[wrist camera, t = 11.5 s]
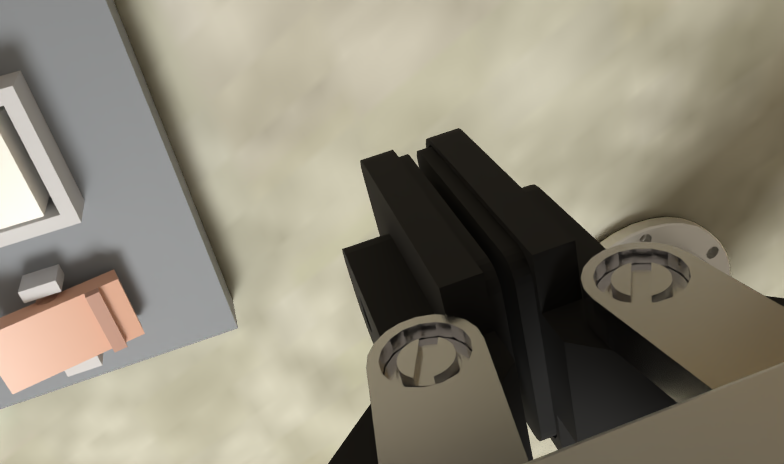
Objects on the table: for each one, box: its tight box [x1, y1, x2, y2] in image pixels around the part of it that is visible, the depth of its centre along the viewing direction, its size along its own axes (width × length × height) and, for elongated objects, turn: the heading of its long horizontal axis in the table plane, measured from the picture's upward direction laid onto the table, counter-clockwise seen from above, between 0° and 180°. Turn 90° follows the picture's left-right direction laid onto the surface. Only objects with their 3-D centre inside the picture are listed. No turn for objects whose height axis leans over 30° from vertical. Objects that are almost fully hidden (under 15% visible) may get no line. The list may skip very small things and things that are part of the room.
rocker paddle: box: [0, 269, 145, 394], centre depth 32 cm, size 3×6×2 cm, turn 102°
